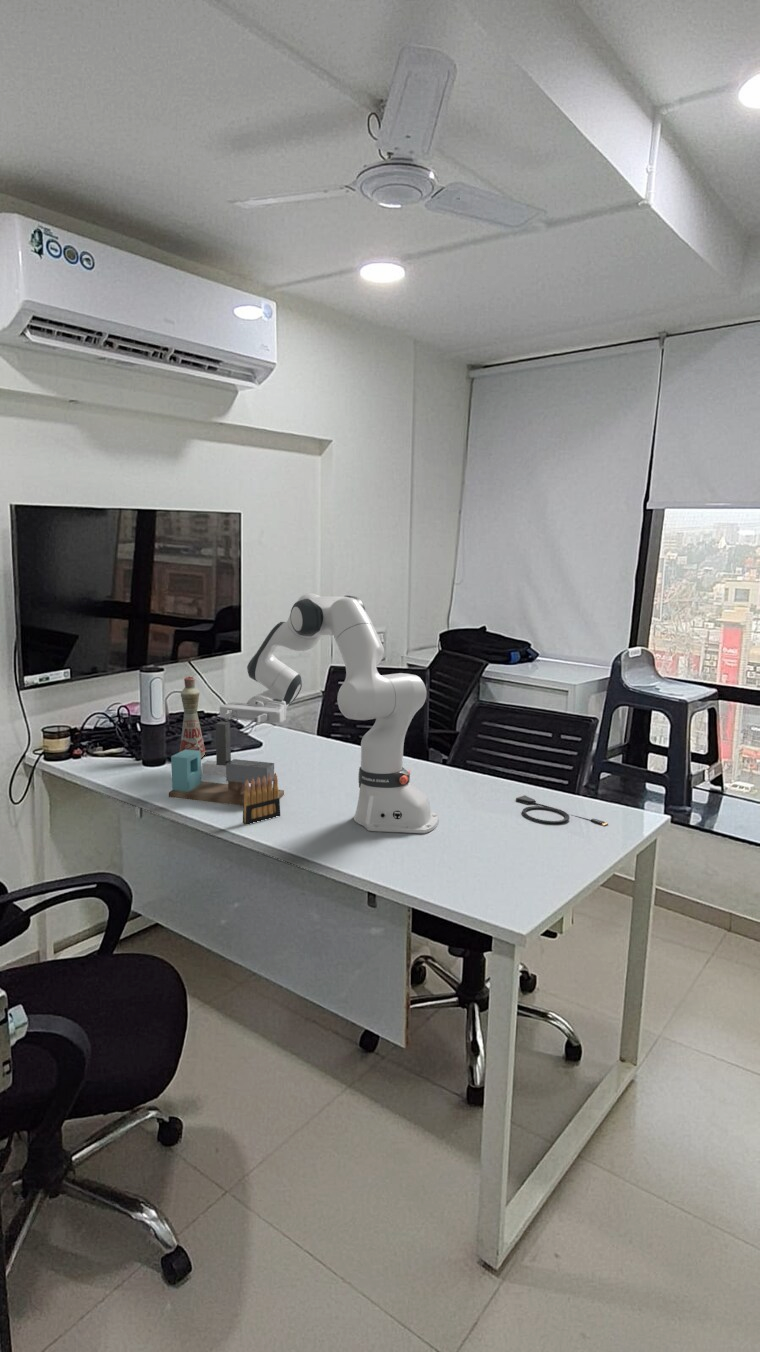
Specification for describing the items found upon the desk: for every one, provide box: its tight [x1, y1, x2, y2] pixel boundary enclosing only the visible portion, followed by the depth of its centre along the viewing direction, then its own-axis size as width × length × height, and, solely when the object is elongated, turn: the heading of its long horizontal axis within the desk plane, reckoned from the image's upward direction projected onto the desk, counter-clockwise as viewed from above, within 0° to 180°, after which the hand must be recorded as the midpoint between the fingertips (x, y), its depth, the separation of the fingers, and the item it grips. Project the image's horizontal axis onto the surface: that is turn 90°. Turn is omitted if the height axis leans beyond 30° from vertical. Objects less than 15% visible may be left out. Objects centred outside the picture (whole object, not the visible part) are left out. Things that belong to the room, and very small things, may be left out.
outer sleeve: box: [225, 758, 275, 785], centre depth 220 cm, size 12×5×5 cm, turn 74°
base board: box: [168, 780, 285, 807], centre depth 223 cm, size 30×12×6 cm, turn 74°
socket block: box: [170, 749, 202, 792], centre depth 226 cm, size 5×8×10 cm, turn 164°
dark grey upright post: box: [201, 721, 232, 778], centre depth 221 cm, size 19×3×15 cm, turn 74°
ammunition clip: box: [242, 772, 281, 825], centre depth 205 cm, size 11×2×12 cm, turn 132°
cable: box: [515, 794, 609, 827], centre depth 212 cm, size 14×28×2 cm, turn 42°
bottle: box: [179, 675, 206, 757], centre depth 259 cm, size 9×9×28 cm
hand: (241, 718), depth 232 cm, fingers open, 8 cm apart
